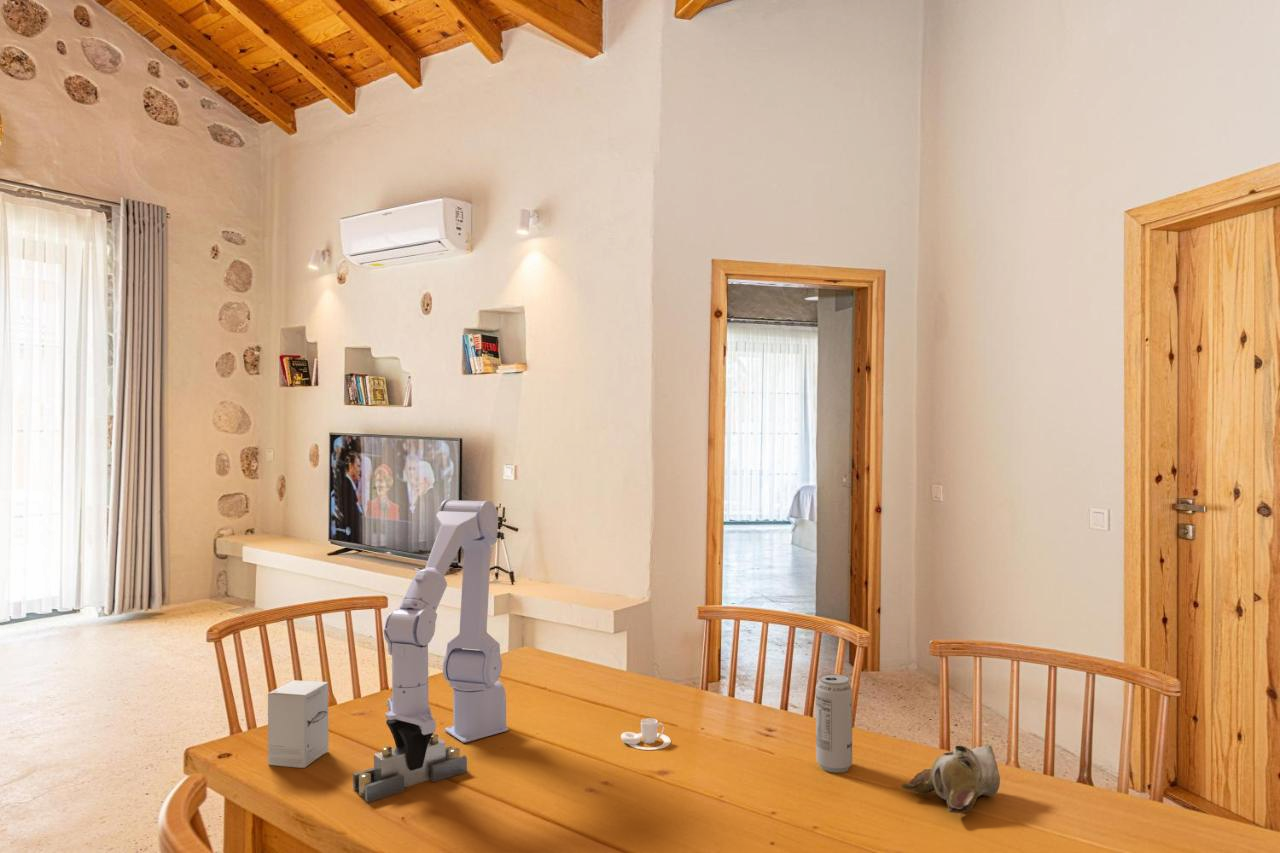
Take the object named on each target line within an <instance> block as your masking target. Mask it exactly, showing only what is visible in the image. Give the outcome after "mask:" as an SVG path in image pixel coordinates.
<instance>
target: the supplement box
mask: <svg viewBox="0 0 1280 853" xmlns="http://www.w3.org/2000/svg"><path fill="white" fill-rule="evenodd" d="M267 738H268V739H267V759H268V760H267V765H269V766H278V767H287V768H301V769H305V768H306V767H308V766H309V765H310V764H311V763H313V762H314V761H316V760H318V759H319V758H320V757H321V756H323V755H325V754H326V753H328V752H329V682H328V681H319V680H317V681H315V680H298V679H297V680H296V679H294V680H293V679H292V680H290V681H289V682H287V683H285V684H283V685H282V686H279V687H278V688H275V689H273V690H272V691H270V692H268V693H267Z"/></svg>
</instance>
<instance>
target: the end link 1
mask: <svg viewBox="0 0 1280 853" xmlns="http://www.w3.org/2000/svg"><path fill="white" fill-rule="evenodd" d="M352 780H353V781H352V786H353V788H352V789H353V791H354V792H356V791H358V796H359V797H361V798H364V800H365V802H366V803H367V804H369V803H372V802H375V801H377V800H381V799H384V798H387V797H390V796H394V795H397V794H401V793H403V792H405V787H404V775H402V774H401V775H398V776H394V777H391V778H387V779H384V780H381V781H377V782H374V767H372V768H368V769H365V770H362V771H358V772H355V773H352Z"/></svg>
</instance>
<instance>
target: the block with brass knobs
mask: <svg viewBox="0 0 1280 853" xmlns="http://www.w3.org/2000/svg"><path fill="white" fill-rule="evenodd" d="M445 748H446V741H445V740H443V739H441V738H440V737H439V734H437V733H433V735H432V737H431V739H430V741H429V744H428V747H427V750H426V754H425V759H424V763H423V767H422V768H419V769H415V770H412V771H411V770H409V767H408V764H407V756H406V749H405V746H402V747H398V748H392V746H389V745H388V746H383V747H382V748H381V749H380V750H381V751H380V752H376V753H374V754H373V768H374V782H377V781H381V780H384V779H387V778H391V777H394V776H398V775H401V774H402V775H404V788H406V787H407V788H408V787H410V786H414V785H417V784H421V783H423V782H426V781H431V766H432V765H435V764H438V763H442V762H445V761H446V753H445Z"/></svg>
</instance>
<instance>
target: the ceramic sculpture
mask: <svg viewBox="0 0 1280 853" xmlns="http://www.w3.org/2000/svg"><path fill="white" fill-rule="evenodd" d="M1000 783H1001V775H1000V772H999V768H998V765H997V759H996V756H995V753H994V751H993V746H992V745H991V744H986V745H984V746H979V747H974V748H972V749H970V748H968V747H966V746H963V745H956V746H954V748H953V749H952V751H951V752H950V751H949V752H945V753H942V755H940V756H938V757H936V758H935V759H934V761H933V763H932V765H931V768H929V769H928V768H927V769H924V770H922V771H921V772H918V773H916V775H914V777H913V778H912V779H911V780H910V781H909V782H908V783H903V784H901V787H902V789H904V790H907V791H911V792H913V793H916V794H917V793H918V794H921V795H924V794H930V793H933V792H934V791H935V793H936V795H938V797H940V798H941V799H943V800H944V801H946V805H947V807H948V812H949V813H957V814H961V813H963V814H964V813H966V812H968V811H970V810H971V808H972V807H974V805H975V802H976V801H977V799H978V797H980V796H982V795H983V796H987V797H993V796H994V795H996V794H997V793H998V791H999V789H1000Z"/></svg>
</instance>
